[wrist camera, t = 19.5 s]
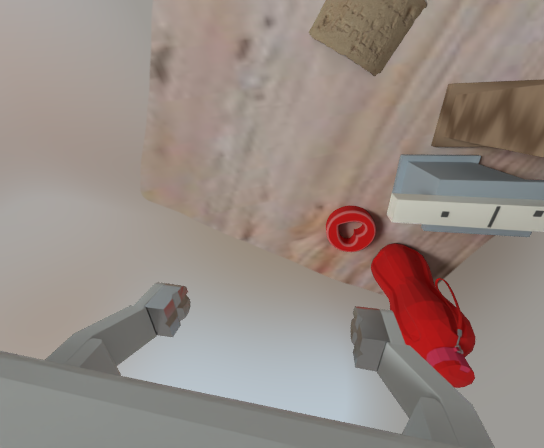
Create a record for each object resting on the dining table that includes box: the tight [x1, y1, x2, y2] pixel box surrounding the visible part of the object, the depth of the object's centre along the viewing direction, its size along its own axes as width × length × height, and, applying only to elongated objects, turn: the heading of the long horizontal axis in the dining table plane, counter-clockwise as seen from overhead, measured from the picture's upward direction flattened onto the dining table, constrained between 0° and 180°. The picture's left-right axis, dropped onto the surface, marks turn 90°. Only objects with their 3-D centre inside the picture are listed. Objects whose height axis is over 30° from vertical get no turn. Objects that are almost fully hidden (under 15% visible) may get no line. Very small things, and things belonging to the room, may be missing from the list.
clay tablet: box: [309, 0, 426, 76], centre depth 32 cm, size 14×10×3 cm
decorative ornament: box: [326, 206, 376, 252], centre depth 47 cm, size 10×10×3 cm
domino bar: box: [387, 193, 544, 232], centre depth 27 cm, size 3×21×2 cm, turn 91°
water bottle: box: [371, 243, 475, 388], centre depth 38 cm, size 9×11×25 cm
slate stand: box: [392, 155, 544, 237], centre depth 34 cm, size 8×12×15 cm, turn 91°
